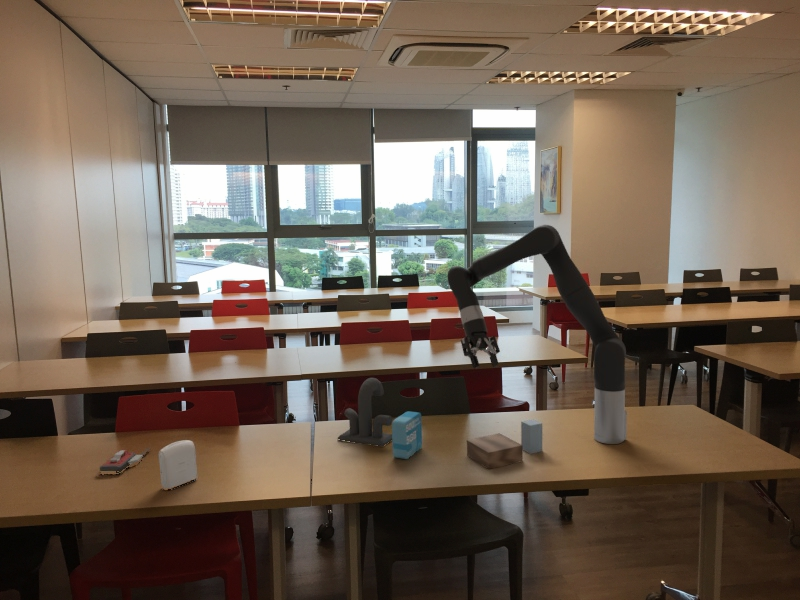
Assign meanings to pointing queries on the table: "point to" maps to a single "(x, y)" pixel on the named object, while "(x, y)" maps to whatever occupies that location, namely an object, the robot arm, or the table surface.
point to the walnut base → (494, 450)
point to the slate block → (531, 436)
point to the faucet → (367, 418)
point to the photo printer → (177, 463)
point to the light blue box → (406, 434)
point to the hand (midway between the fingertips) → (486, 367)
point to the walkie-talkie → (121, 461)
